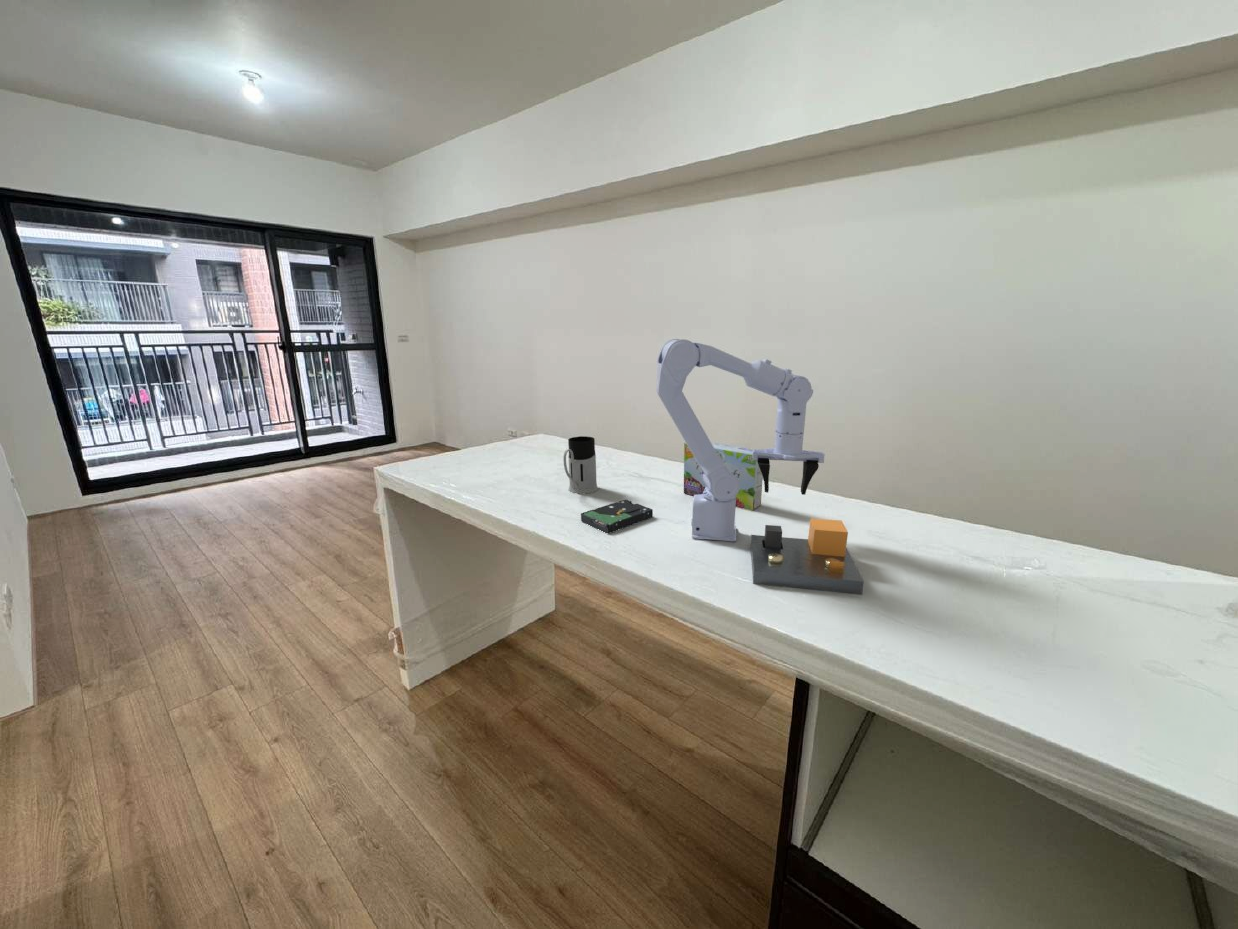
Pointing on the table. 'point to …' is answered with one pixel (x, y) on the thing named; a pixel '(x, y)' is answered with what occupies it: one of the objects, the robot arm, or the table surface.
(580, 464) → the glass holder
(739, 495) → the snack box
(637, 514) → the disk drive
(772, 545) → the block
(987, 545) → the table surface
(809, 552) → the grey flat slab
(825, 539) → the cap
